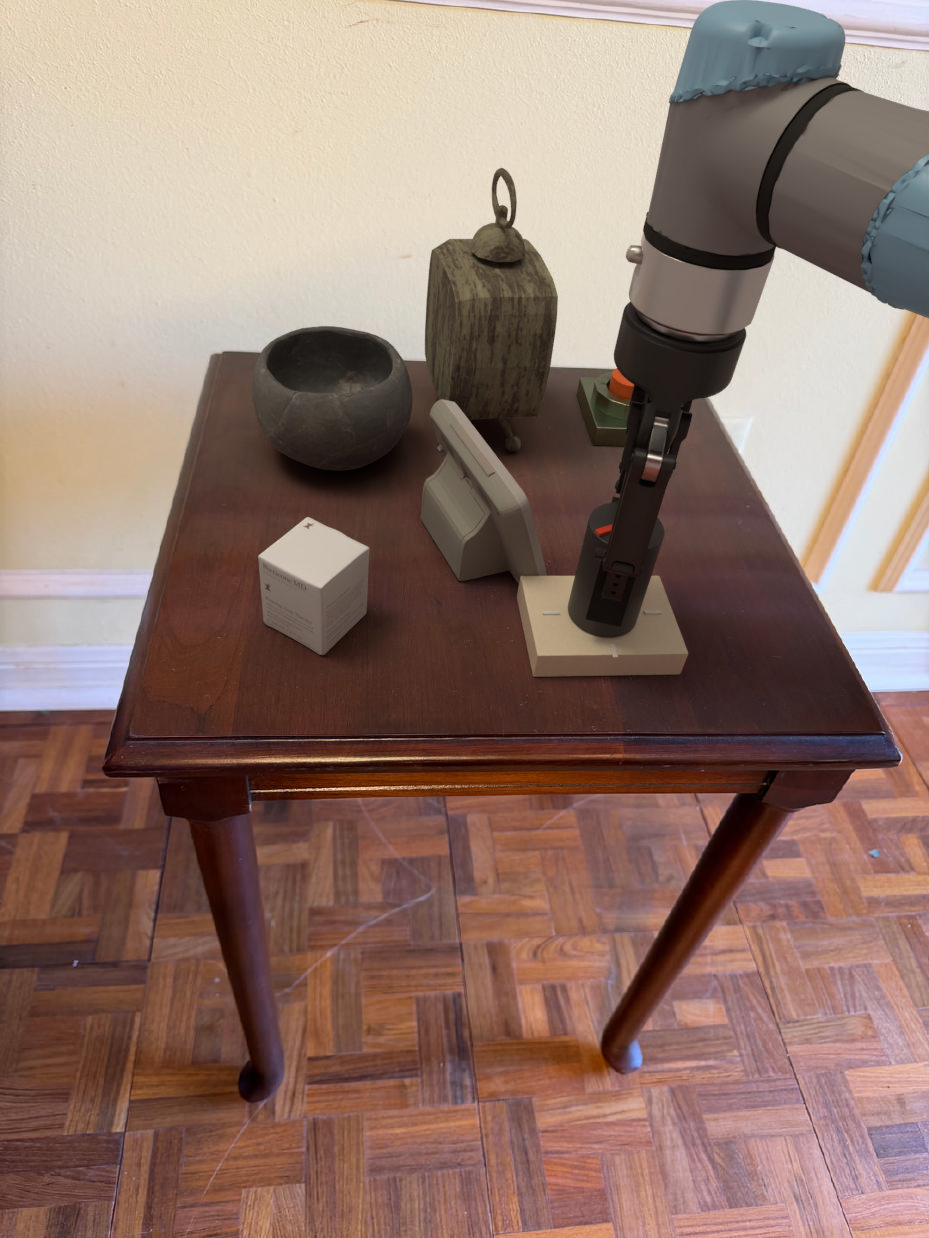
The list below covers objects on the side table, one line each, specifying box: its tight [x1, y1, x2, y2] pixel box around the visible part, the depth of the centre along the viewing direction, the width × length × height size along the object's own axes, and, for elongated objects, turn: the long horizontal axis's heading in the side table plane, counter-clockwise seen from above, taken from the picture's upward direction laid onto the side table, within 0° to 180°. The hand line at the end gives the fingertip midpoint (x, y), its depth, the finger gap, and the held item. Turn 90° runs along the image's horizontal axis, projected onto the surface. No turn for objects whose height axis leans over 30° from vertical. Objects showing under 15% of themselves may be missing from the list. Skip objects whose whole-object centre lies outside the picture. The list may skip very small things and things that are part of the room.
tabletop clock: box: [424, 167, 559, 453], centre depth 85 cm, size 14×9×25 cm, turn 13°
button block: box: [576, 370, 631, 447], centre depth 96 cm, size 10×8×4 cm
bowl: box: [251, 325, 413, 472], centre depth 85 cm, size 15×15×10 cm
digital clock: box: [420, 399, 547, 585], centre depth 77 cm, size 16×9×11 cm, turn 13°
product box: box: [257, 516, 371, 656], centre depth 69 cm, size 6×6×7 cm
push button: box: [609, 367, 634, 399], centre depth 94 cm, size 4×4×2 cm
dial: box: [568, 502, 666, 638], centre depth 68 cm, size 6×6×9 cm
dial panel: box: [516, 575, 689, 678], centre depth 73 cm, size 12×10×3 cm
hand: (608, 592), depth 70 cm, fingers closed on dial, 6 cm apart
